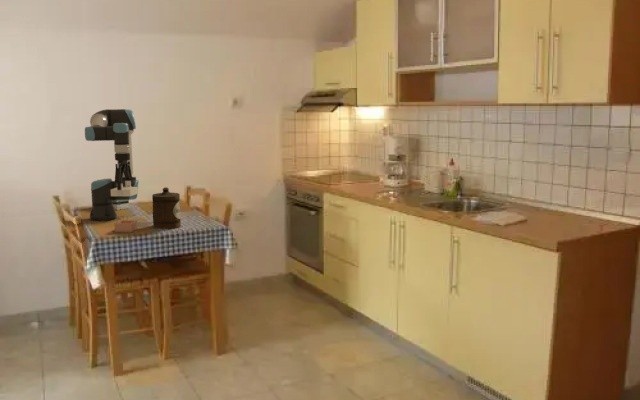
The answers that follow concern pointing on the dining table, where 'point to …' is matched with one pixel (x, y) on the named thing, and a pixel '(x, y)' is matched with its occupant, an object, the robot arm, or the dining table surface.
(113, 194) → the lid
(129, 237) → the dining table surface
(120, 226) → the dish
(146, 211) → the dining table surface
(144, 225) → the mat
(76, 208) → the dining table surface
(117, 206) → the tea box
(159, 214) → the wooden container
